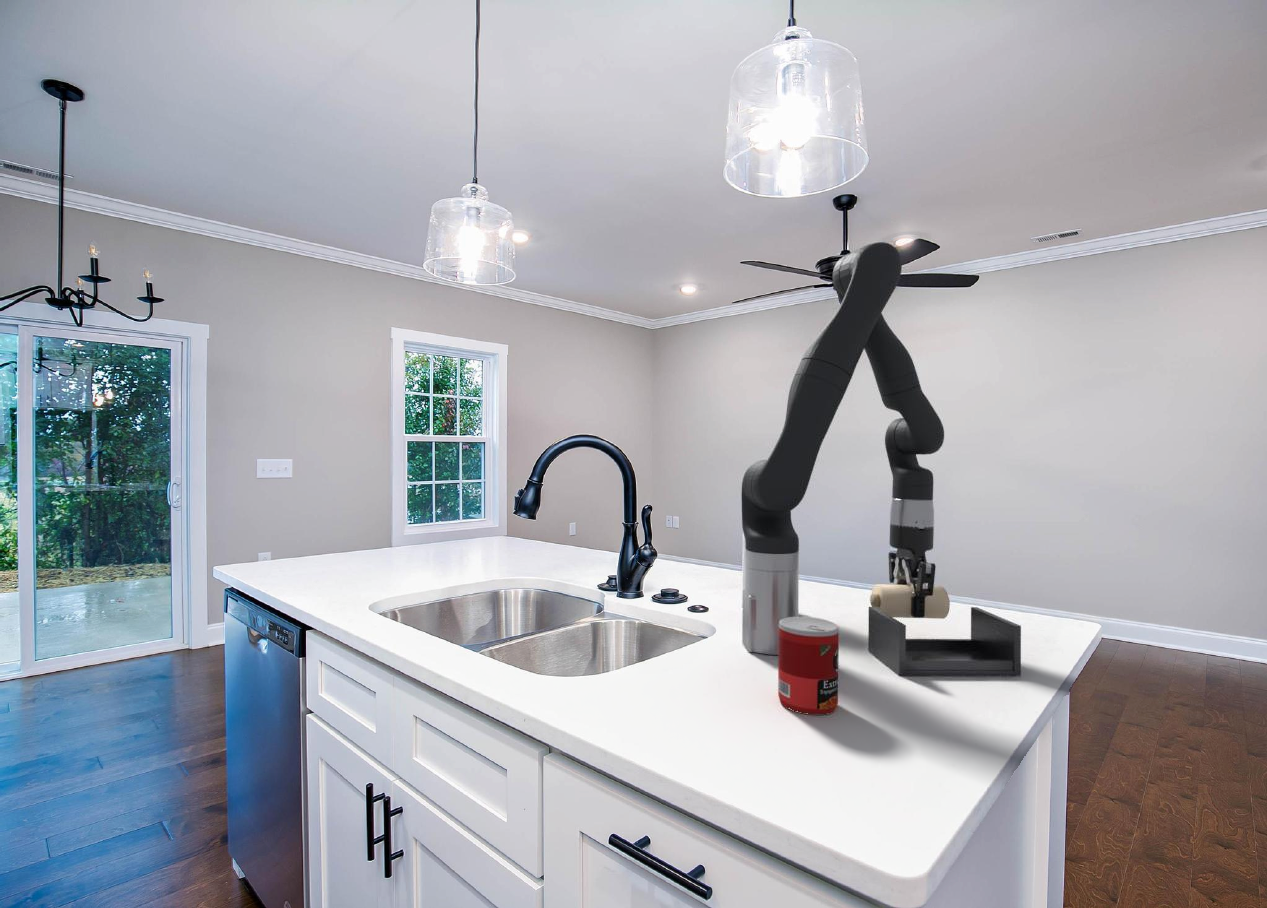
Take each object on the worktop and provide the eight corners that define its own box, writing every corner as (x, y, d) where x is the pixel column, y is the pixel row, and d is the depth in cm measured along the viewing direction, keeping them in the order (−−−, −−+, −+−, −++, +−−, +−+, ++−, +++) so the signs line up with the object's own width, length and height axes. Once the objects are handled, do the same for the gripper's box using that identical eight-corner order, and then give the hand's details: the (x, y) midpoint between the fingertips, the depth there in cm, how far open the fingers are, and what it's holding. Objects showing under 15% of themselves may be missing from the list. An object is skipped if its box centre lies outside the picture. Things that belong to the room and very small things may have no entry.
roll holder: (899, 676, 95) (899, 625, 95) (868, 651, 107) (868, 606, 107) (1020, 676, 96) (1020, 626, 96) (976, 652, 108) (976, 607, 108)
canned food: (830, 721, 79) (830, 634, 79) (769, 707, 83) (770, 625, 83) (844, 701, 85) (845, 621, 85) (787, 689, 89) (788, 613, 90)
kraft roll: (878, 621, 113) (880, 588, 112) (865, 611, 119) (867, 580, 118) (954, 623, 113) (955, 590, 113) (937, 613, 119) (938, 582, 119)
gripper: (875, 518, 123) (873, 603, 123) (910, 526, 109) (907, 622, 108) (913, 520, 123) (910, 604, 123) (952, 528, 109) (949, 623, 109)
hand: (909, 612), depth 116 cm, fingers closed on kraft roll, 6 cm apart
